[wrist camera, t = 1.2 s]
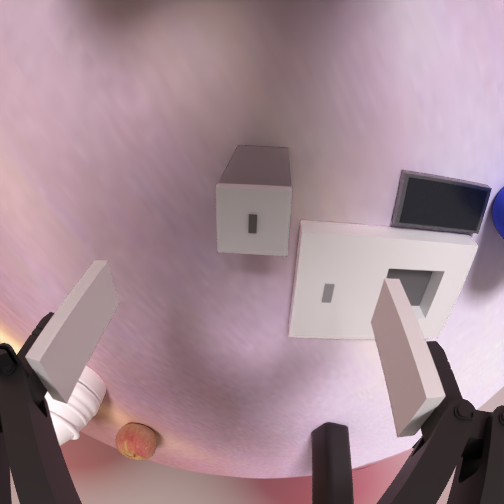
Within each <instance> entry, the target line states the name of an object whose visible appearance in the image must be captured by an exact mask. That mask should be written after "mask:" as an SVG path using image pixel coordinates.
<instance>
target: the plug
mask: <svg viewBox="0 0 504 504" xmlns="http://www.w3.org/2000/svg"><path fill="white" fill-rule="evenodd" d="M215 193H216V226H217V252H221V253H238V254H254V255H271V256H287V251H288V240H289V228H290V216H291V204H292V187H291V179H290V167H289V156H288V148H285V147H267V146H242V145H238V147H237V148H236V150H235V152H234V154H233V156H232V158H231V160H230V162H229V164H228V166H227V168H226V170H225V172H224V174H223V175H222V177H221V179H220V181H219V183H217V185H216V187H215Z"/></svg>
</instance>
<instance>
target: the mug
mask: <svg viewBox="0 0 504 504" xmlns="http://www.w3.org/2000/svg"><path fill="white" fill-rule="evenodd" d="M492 214H493V221H494V225H495V227H496V229H497V231H498V232H499V233H500V235H501V236H502V237H503V239H504V187H503V188H502V189H501V191H500V192H499V193H498V195H497V197H496V199H495V202H494V205H493V213H492Z"/></svg>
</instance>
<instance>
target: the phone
mask: <svg viewBox="0 0 504 504" xmlns="http://www.w3.org/2000/svg"><path fill="white" fill-rule="evenodd" d="M491 189H492V188H490V187H489V186H488V185H485V184H480V183H475V182H470V181H465V180H460V179H455V178H449V177H443V176H438V175H432V174H426V173H419V172H413V171H406V170H402V172H401V178H400V183H399V188H398V193H397V198H396V203H395V207H394V212H393V217H392V222H393V223H394V225H401V226H411V227H422V228H432V229H441V230H451V231H460V232H468V233H477V234H478V232H479V229H480V226H481V223H482V220H483V217H484V213H485V210H486V207H487V203H488V200H489V196H490V192H491Z"/></svg>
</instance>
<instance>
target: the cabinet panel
mask: <svg viewBox="0 0 504 504" xmlns="http://www.w3.org/2000/svg"><path fill="white" fill-rule="evenodd" d="M478 247H479V246H478V245H477V243H476V242H475V241H474V240H473V239H472V238H471V236H470V235H467V234H458V233H449V232H439V231H429V230H419V229H408V228H397V227H386V226H374V225H362V224H349V223H336V222H322V221H308V220H301V221H300V231H299V241H298V250H297V259H296V268H295V276H294V285H293V293H292V301H291V309H290V317H289V337H295V338H320V339H375V336H374V333H373V329H372V325H371V320H372V317H373V314H374V311H375V307H376V304H377V301H378V298H379V295H380V292H381V288H382V285H383V282H384V278H389V279H399V280H400V282H401V284H402V286H403V288H404V291H405V293H406V295H407V297H408V300H409V302H410V304H411V307H412V309H413V311H414V314H415V316H416V318H417V321H418V323H419V326H420V328H421V330H422V333H423V335H424V338H438V337H439V335H440V333H441V331H442V329H443V327H444V325H445V323H446V321H447V319H448V317H449V315H450V313H451V311H452V309H453V307H454V305H455V303H456V300H457V298H458V296H459V294H460V291H461V289H462V287H463V284H464V282H465V280H466V277H467V275H468V273H469V270H470V268H471V265H472V262H473V260H474V257H475V255H476V252H477V249H478Z"/></svg>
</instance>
